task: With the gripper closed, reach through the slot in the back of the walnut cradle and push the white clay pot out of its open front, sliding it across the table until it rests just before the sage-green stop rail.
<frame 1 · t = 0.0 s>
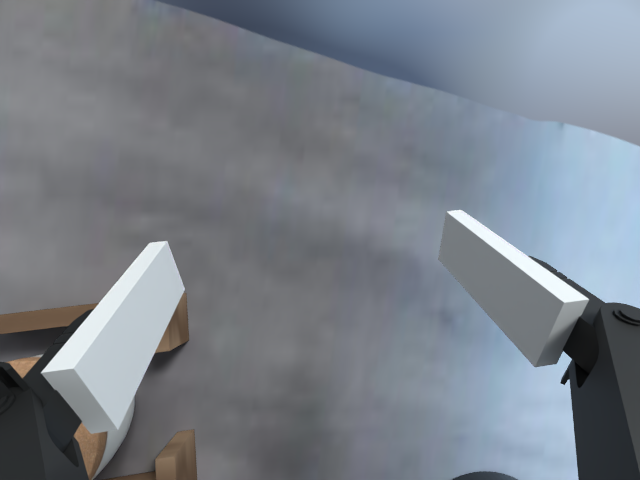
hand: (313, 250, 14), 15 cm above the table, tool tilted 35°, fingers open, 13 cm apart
cradle: (96, 397, 26), on the table
lidded jar: (98, 396, 26), on the table
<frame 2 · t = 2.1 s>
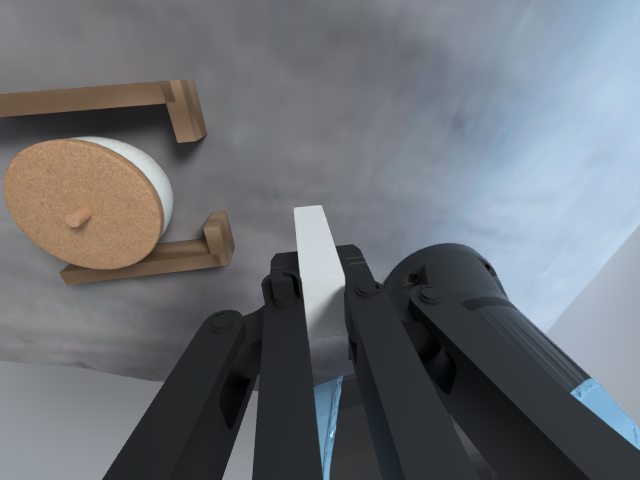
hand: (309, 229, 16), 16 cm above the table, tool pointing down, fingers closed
cradle: (131, 183, 29), on the table
lidded jar: (133, 183, 29), on the table
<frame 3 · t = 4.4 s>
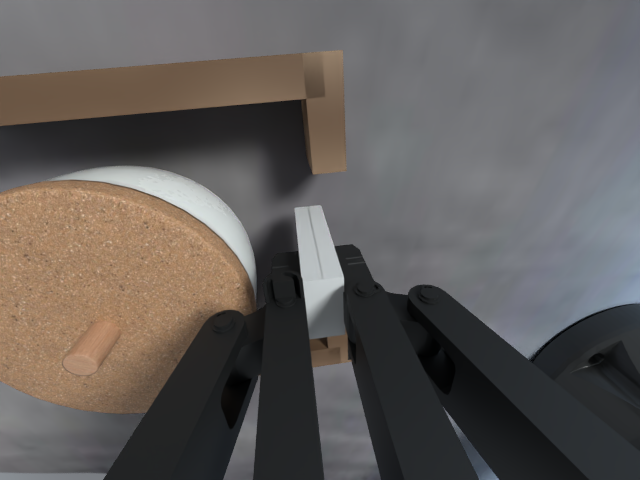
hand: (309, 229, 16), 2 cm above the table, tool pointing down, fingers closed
cradle: (199, 233, 18), on the table
lidded jar: (177, 233, 18), on the table, touching gripper
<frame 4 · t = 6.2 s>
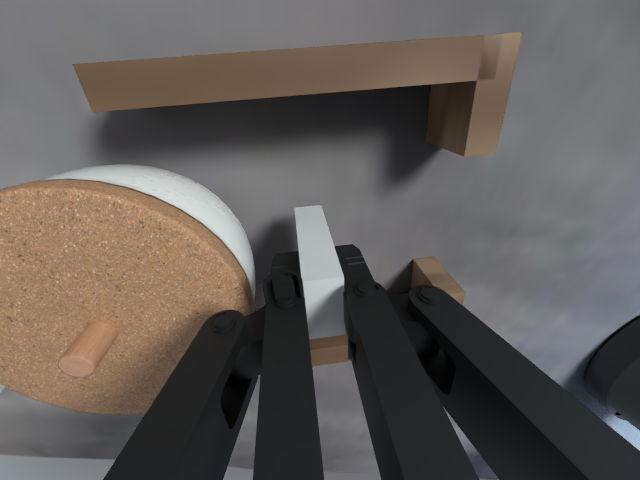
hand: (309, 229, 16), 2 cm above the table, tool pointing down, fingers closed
cradle: (310, 218, 18), on the table
lidded jar: (175, 232, 17), on the table, touching gripper
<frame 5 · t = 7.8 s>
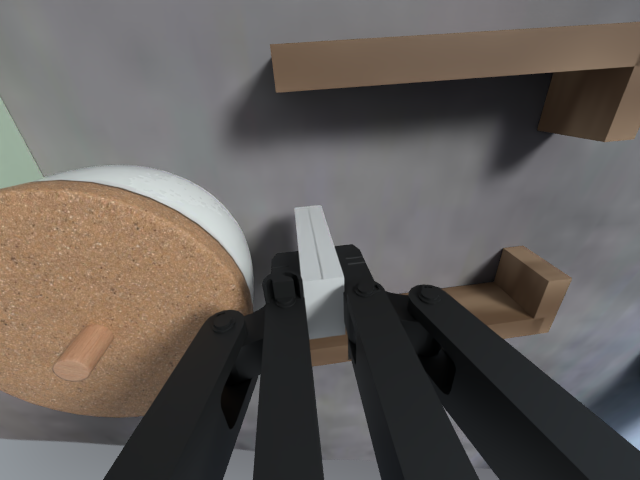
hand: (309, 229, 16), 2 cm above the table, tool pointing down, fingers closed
cradle: (414, 206, 18), on the table
lidded jar: (173, 233, 17), on the table, touching gripper
stop rail: (64, 243, 17), on the table
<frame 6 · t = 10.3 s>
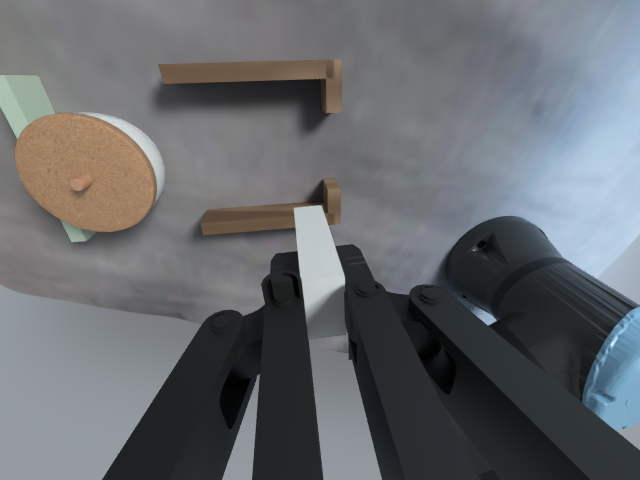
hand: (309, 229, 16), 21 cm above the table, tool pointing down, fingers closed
cradle: (262, 149, 33), on the table
lidded jar: (127, 158, 32), on the table
stop rail: (68, 160, 31), on the table
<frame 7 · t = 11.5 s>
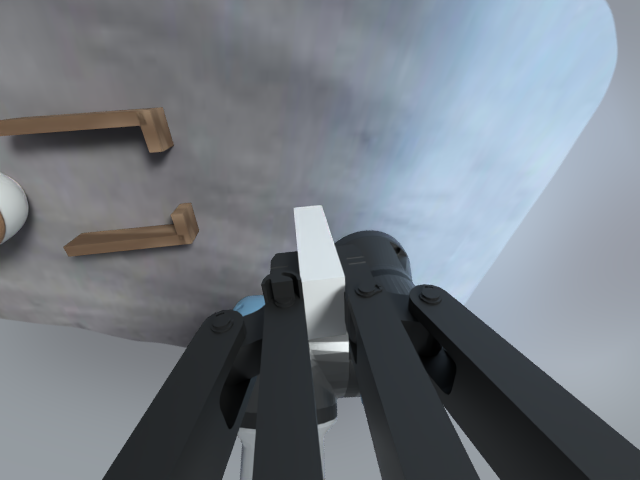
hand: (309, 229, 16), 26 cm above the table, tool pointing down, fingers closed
cradle: (118, 181, 39), on the table
lidded jar: (0, 192, 38), on the table
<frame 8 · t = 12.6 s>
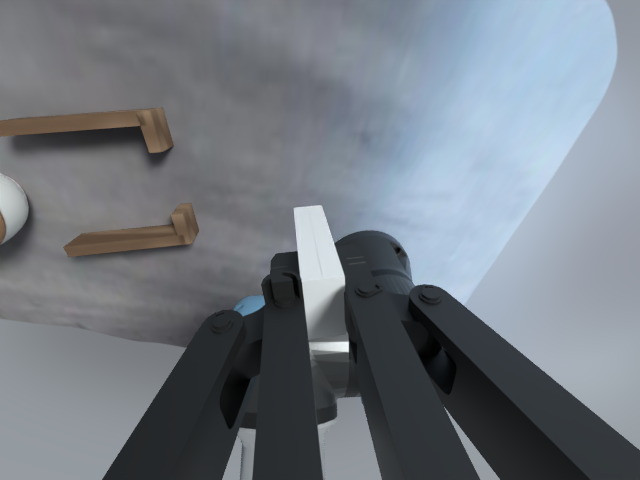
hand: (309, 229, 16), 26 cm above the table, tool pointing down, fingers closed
cradle: (118, 181, 39), on the table
lidded jar: (0, 192, 38), on the table
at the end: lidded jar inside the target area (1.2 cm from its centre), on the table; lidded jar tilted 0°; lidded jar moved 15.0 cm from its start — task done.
